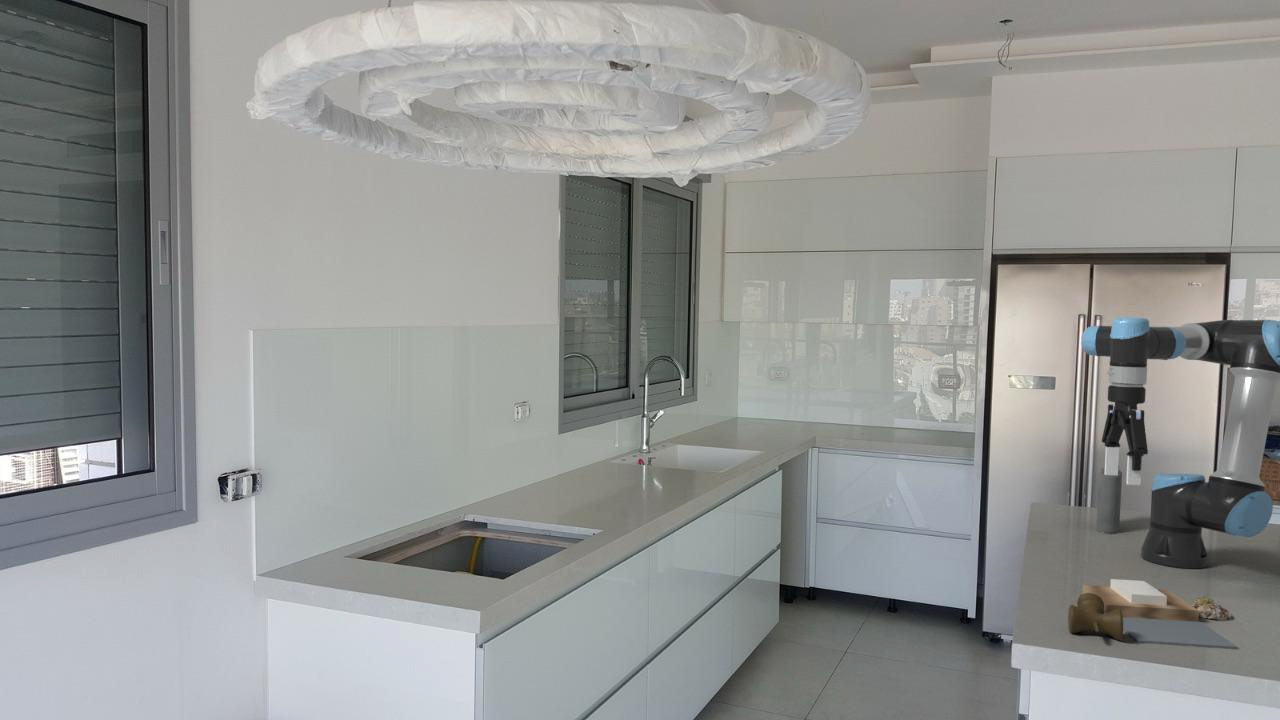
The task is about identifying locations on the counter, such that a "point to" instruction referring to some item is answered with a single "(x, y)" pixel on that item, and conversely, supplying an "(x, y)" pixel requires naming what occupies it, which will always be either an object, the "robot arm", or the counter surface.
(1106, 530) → the flask
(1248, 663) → the counter surface
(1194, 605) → the mineral rock
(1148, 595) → the stone tile
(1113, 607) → the tan wooden board
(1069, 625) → the kendama
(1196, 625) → the mat
